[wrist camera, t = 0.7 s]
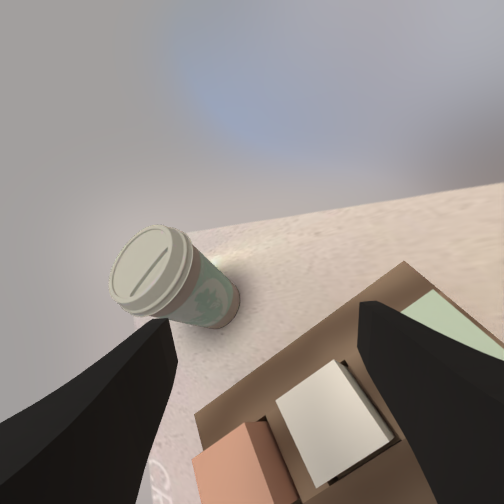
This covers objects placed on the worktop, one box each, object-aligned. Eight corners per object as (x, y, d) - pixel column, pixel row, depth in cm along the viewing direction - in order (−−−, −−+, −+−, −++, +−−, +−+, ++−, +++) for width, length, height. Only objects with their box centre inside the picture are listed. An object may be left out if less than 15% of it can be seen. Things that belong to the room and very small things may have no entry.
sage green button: (499, 370, 16) (516, 360, 13) (431, 413, 16) (433, 413, 13) (431, 308, 19) (432, 289, 16) (376, 346, 20) (367, 335, 17)
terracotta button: (301, 496, 18) (277, 513, 15) (247, 531, 18) (213, 554, 15) (269, 421, 21) (244, 422, 18) (223, 452, 21) (191, 459, 18)
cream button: (395, 436, 17) (389, 441, 14) (334, 475, 17) (316, 488, 14) (346, 367, 20) (333, 359, 17) (296, 402, 20) (275, 400, 18)
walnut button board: (573, 422, 15) (600, 424, 13) (270, 600, 18) (248, 628, 15) (405, 275, 23) (404, 260, 20) (214, 414, 25) (194, 414, 23)
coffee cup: (195, 353, 30) (97, 327, 21) (188, 289, 35) (108, 247, 26) (258, 322, 28) (180, 279, 19) (241, 260, 33) (174, 203, 24)
